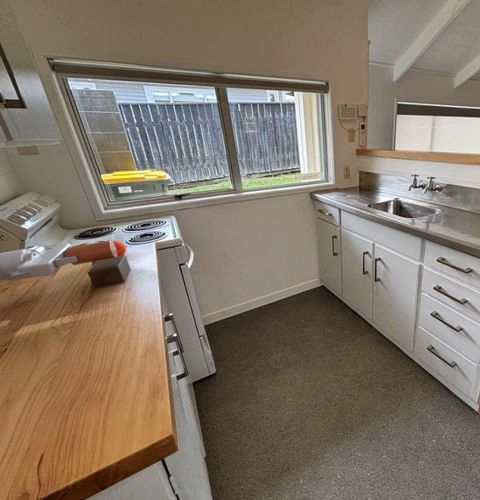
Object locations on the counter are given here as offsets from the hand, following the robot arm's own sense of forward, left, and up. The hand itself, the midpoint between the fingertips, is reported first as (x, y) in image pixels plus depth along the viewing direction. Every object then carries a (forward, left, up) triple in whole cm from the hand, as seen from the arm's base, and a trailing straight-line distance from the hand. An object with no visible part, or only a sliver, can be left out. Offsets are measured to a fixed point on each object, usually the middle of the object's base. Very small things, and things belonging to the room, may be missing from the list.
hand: (81, 254), depth 92 cm
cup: (+3, 0, -3) cm, 4 cm away
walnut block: (+6, 0, -11) cm, 12 cm away
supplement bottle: (-2, +21, -11) cm, 23 cm away
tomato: (+3, +23, -11) cm, 25 cm away
